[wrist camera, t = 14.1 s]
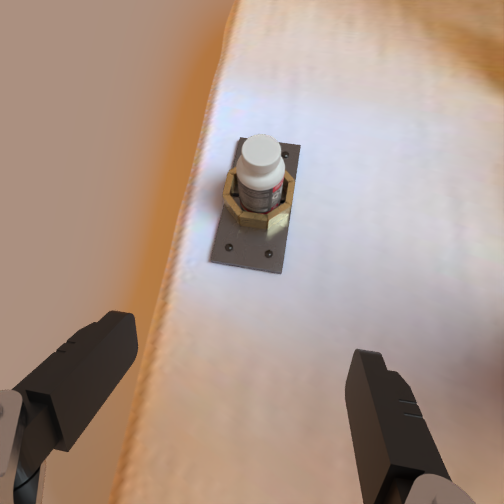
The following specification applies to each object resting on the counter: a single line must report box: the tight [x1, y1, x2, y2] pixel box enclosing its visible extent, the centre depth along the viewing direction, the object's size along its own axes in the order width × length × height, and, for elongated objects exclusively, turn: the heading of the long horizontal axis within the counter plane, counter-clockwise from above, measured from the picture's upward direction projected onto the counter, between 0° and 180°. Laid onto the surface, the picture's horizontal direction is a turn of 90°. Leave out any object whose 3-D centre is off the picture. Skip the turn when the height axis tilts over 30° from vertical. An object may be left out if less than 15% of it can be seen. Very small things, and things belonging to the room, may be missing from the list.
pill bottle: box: [236, 134, 285, 215], centre depth 32 cm, size 5×5×10 cm
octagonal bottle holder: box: [211, 137, 301, 274], centre depth 36 cm, size 19×9×3 cm, turn 170°
